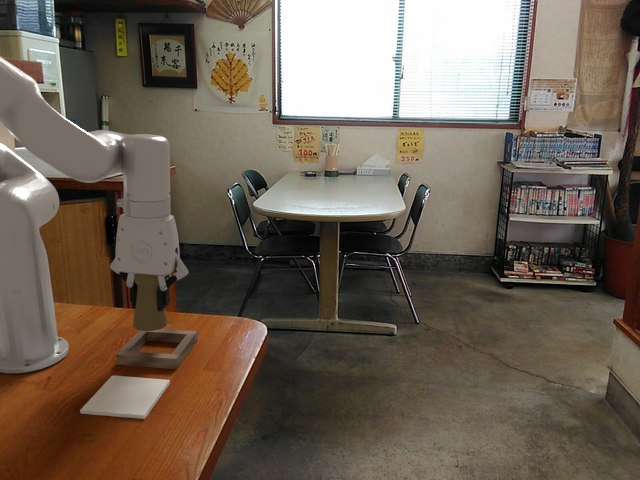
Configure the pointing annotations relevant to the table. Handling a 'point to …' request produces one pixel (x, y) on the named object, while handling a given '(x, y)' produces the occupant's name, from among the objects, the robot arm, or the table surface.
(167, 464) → the table surface
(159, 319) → the cork
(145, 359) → the holder
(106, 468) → the table surface
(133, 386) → the coaster
